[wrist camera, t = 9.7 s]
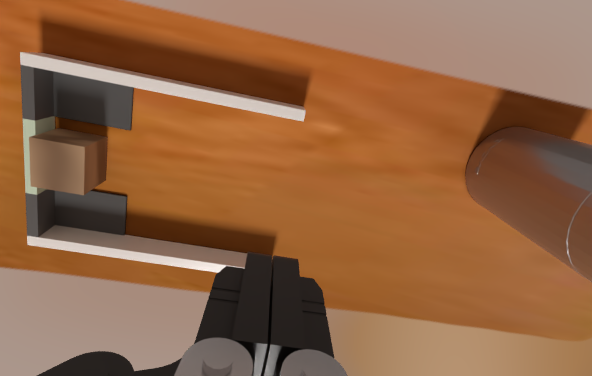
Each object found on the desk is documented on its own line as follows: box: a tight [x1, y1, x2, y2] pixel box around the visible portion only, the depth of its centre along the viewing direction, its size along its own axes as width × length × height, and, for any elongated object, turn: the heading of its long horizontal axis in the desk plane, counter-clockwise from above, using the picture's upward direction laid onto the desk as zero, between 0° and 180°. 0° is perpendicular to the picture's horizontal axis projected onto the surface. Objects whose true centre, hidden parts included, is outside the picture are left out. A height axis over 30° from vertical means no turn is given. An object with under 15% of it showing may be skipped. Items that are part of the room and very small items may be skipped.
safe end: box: [23, 116, 55, 195], centre depth 34 cm, size 1×7×3 cm, turn 169°
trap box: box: [20, 52, 306, 273], centre depth 35 cm, size 24×18×3 cm
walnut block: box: [29, 128, 108, 195], centre depth 33 cm, size 4×4×4 cm
